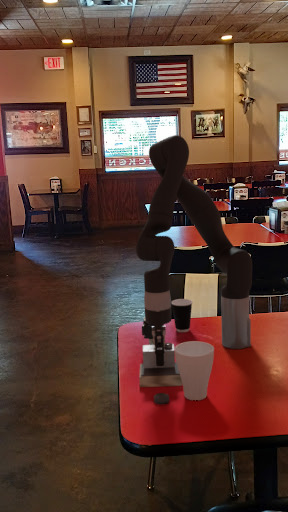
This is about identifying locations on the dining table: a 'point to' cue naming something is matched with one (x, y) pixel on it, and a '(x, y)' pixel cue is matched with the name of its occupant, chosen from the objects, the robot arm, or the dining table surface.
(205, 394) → the cup
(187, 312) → the dixie cup
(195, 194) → the robot arm
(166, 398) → the black cap
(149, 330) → the pneumatic valve
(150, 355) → the block
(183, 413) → the dining table surface
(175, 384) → the stand
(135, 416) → the dining table surface
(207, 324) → the dining table surface
